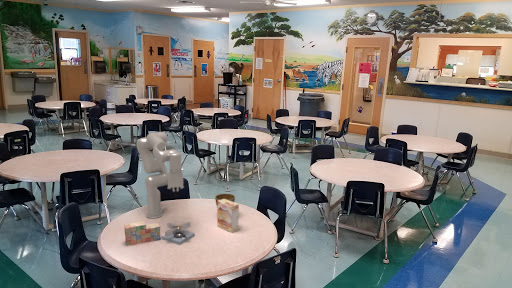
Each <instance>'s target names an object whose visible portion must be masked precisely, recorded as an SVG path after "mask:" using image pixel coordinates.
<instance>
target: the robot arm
mask: <svg viewBox="0 0 512 288" xmlns="http://www.w3.org/2000/svg"><path fill="white" fill-rule="evenodd" d="M167 141H168V136H167V133H166V132H164V131H156V132H150V133H148V134H147V135H146V137H141V138H139V139H137V140H136V148H137V152H138V153H139V155H140V159H141V162H142V166H143V170H144V172H145V174H147V175H148V176H146V177H145V178H144V179H145V180H144V185H145V188H146V197H147V199H146V200H147V201H146V202H147V212H146V213H145V217H146V218H147V219H158V218H161V217H162V216H163V215H164V212H163V211H164V210H165V209H166V207H165V206H163V207H161V206H162V205H161V192H160V190H159V189H158V188H159V187H164V186H167V190H171V191H172V192H173V194H172V195H173V196H174V198H177V197H178V196H179V191H180V190H182V189H184V188H185V186H184V174H183V171H184V168H182V155H181V152H178V151H177V150H176V149H175V148H174V149H167V150H165V148H166V143H167ZM149 149H152V152H151V151H150V150H149ZM154 158H155V159H154ZM166 162H169V163H168V164H169V172H168V170H167V165H166ZM149 174H150V175H149ZM175 188H176V189H175Z"/></svg>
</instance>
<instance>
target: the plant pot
mask: <svg viewBox="0 0 512 288" xmlns="http://www.w3.org/2000/svg"><path fill="white" fill-rule="evenodd" d="M214 198H215V204H216V206H217V201H218V200H222V199H227V200H229V201H232V202H234V203H235V200H236V196H235V195H234V194H232V193H220V194H216V195H215V197H214Z"/></svg>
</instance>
